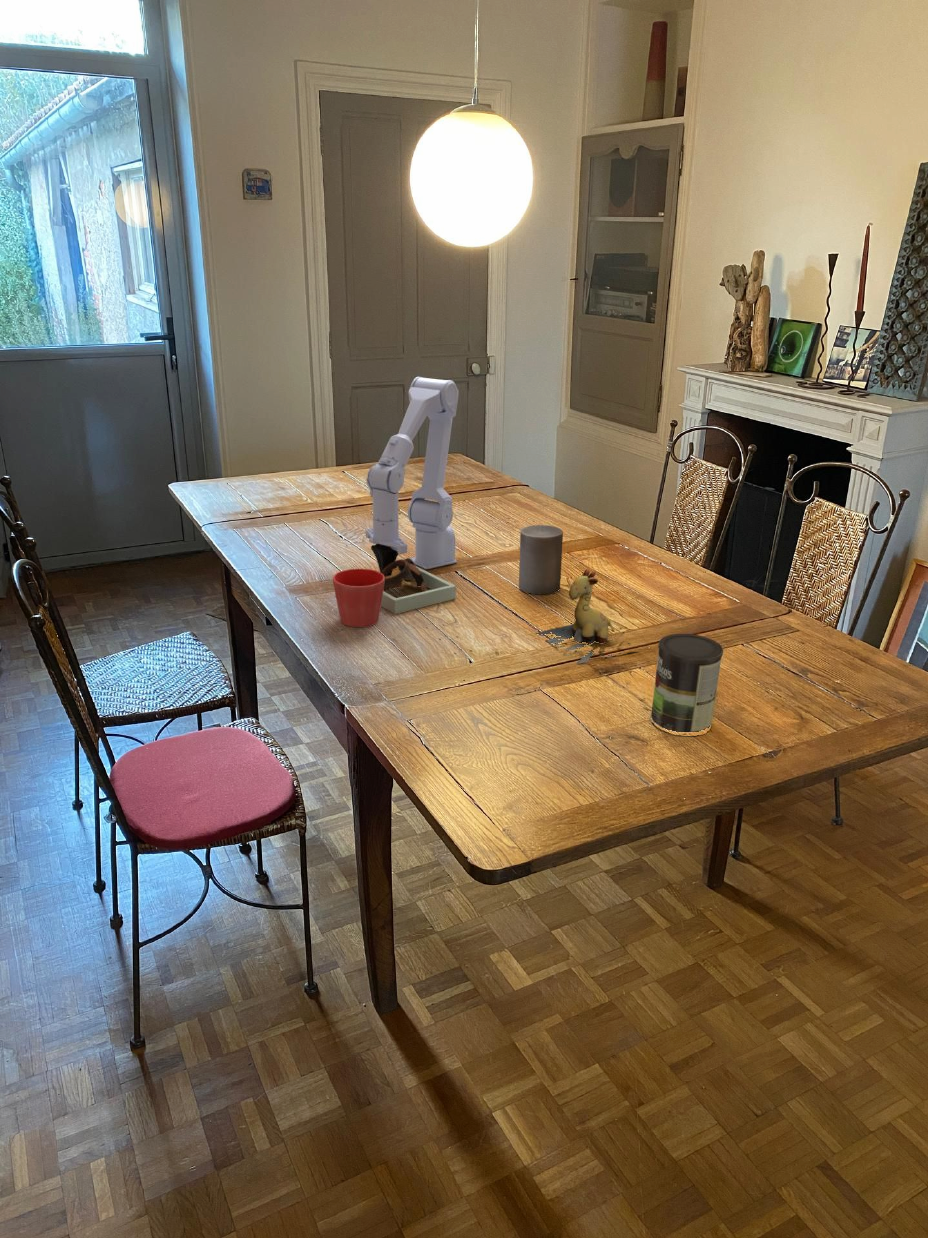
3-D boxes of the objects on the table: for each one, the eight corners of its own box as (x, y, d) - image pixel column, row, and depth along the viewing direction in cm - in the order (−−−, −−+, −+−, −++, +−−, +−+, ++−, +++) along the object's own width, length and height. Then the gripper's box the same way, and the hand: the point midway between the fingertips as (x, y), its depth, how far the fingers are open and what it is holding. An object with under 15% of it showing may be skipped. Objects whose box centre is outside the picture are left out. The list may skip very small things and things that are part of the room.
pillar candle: (566, 584, 218) (569, 522, 213) (551, 598, 210) (554, 533, 204) (527, 578, 222) (529, 517, 216) (511, 591, 214) (513, 527, 208)
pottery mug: (427, 601, 208) (410, 573, 204) (390, 615, 211) (372, 588, 207) (432, 570, 218) (415, 543, 213) (396, 584, 220) (379, 557, 216)
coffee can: (659, 738, 153) (668, 659, 148) (643, 708, 163) (651, 633, 157) (721, 736, 154) (732, 658, 148) (701, 707, 163) (711, 632, 158)
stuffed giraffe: (535, 633, 192) (543, 560, 185) (608, 623, 199) (618, 552, 193) (577, 667, 179) (587, 590, 172) (654, 654, 186) (666, 579, 180)
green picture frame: (413, 576, 221) (413, 564, 220) (455, 598, 209) (455, 585, 207) (354, 590, 212) (353, 577, 211) (394, 613, 200) (394, 600, 199)
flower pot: (393, 614, 199) (393, 571, 195) (372, 634, 190) (371, 589, 186) (348, 607, 202) (347, 565, 199) (325, 626, 193) (323, 581, 189)
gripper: (353, 513, 213) (354, 569, 218) (388, 529, 202) (388, 588, 207) (380, 508, 217) (380, 564, 222) (415, 523, 206) (415, 582, 211)
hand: (386, 575), depth 215 cm, fingers closed
